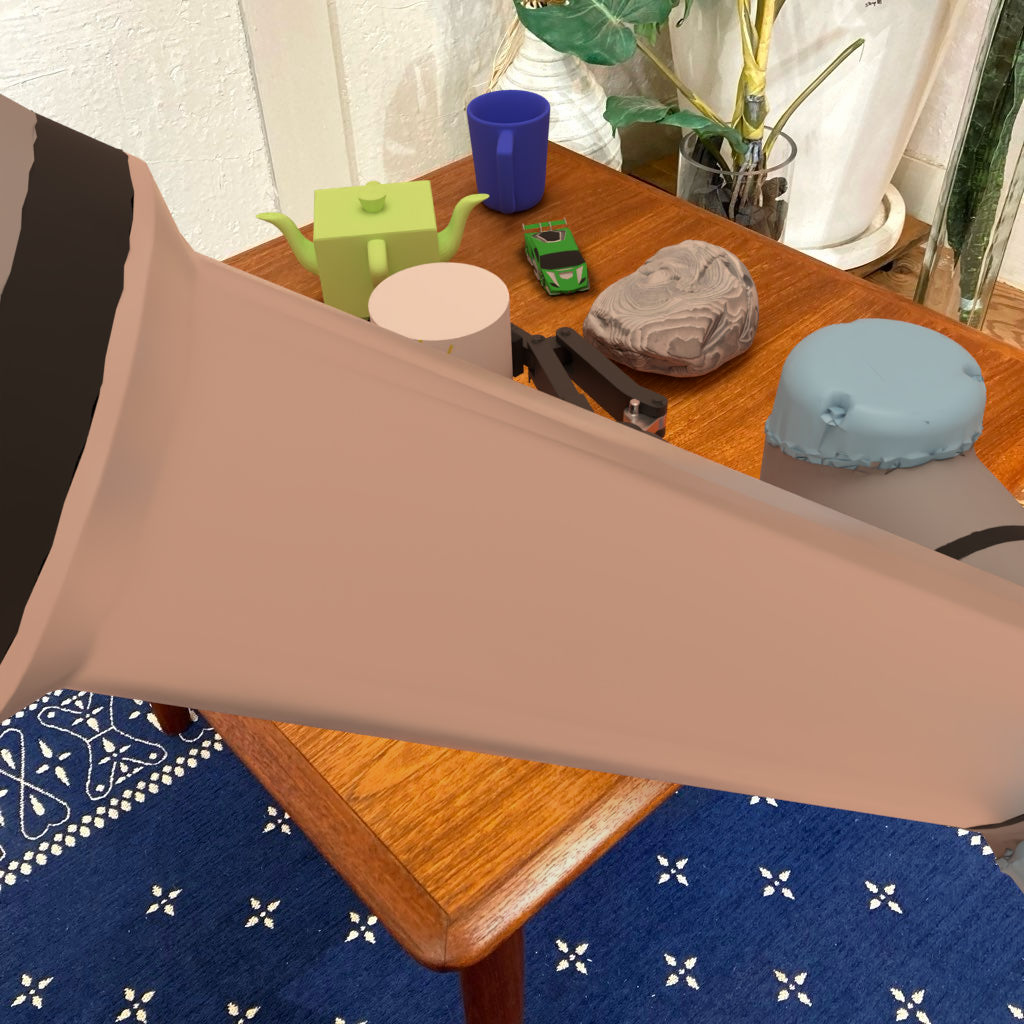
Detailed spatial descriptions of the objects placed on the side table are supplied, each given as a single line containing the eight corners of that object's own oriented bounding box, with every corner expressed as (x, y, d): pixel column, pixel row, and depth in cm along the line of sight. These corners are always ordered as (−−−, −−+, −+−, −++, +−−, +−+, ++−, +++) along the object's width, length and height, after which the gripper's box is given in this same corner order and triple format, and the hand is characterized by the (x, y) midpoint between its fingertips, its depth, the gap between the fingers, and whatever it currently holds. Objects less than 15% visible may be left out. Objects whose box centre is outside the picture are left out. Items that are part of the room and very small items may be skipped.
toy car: (595, 291, 98) (595, 269, 96) (545, 299, 97) (545, 277, 96) (567, 237, 105) (567, 216, 103) (520, 244, 104) (519, 223, 103)
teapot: (274, 309, 97) (250, 202, 90) (368, 245, 105) (353, 141, 98) (406, 361, 91) (392, 250, 84) (495, 288, 99) (490, 180, 92)
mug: (465, 239, 105) (459, 143, 99) (475, 182, 114) (469, 89, 107) (548, 239, 105) (548, 142, 98) (551, 181, 114) (551, 88, 107)
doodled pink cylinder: (368, 450, 71) (342, 295, 62) (469, 402, 74) (456, 248, 66) (437, 517, 66) (418, 358, 58) (541, 462, 69) (537, 304, 61)
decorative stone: (584, 371, 84) (606, 242, 80) (568, 332, 96) (586, 218, 93) (764, 394, 85) (794, 268, 81) (725, 352, 98) (749, 241, 94)
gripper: (515, 680, 53) (270, 462, 66) (781, 484, 63) (523, 326, 76) (509, 579, 48) (245, 363, 61) (800, 381, 58) (519, 230, 70)
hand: (399, 343), depth 68 cm, fingers closed on doodled pink cylinder, 8 cm apart
